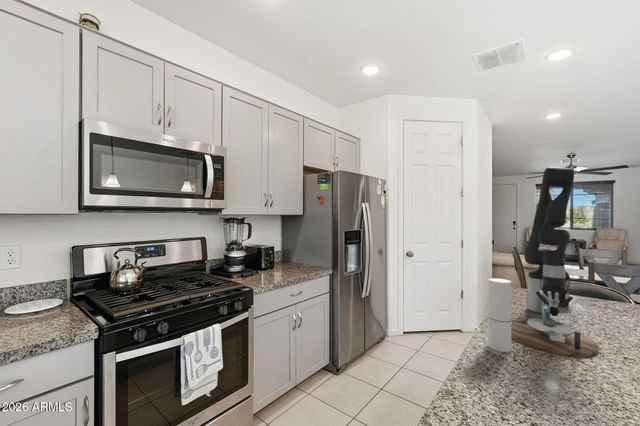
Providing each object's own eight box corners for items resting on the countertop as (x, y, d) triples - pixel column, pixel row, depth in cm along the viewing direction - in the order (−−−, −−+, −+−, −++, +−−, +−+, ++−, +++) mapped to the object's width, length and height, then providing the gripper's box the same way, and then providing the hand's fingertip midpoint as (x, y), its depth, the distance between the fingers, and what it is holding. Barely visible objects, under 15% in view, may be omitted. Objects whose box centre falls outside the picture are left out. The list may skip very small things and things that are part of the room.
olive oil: (544, 304, 160) (544, 259, 161) (547, 300, 168) (547, 257, 168) (569, 308, 153) (569, 262, 153) (571, 304, 160) (571, 260, 160)
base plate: (575, 364, 95) (575, 341, 95) (492, 332, 120) (492, 315, 120) (612, 347, 107) (612, 327, 107) (530, 322, 132) (530, 306, 132)
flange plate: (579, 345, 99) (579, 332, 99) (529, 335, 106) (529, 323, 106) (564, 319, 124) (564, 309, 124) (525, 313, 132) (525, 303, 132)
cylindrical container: (508, 344, 109) (507, 279, 109) (513, 353, 102) (513, 283, 102) (486, 341, 111) (486, 277, 111) (491, 350, 104) (491, 281, 105)
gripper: (532, 274, 125) (533, 313, 125) (572, 279, 115) (573, 322, 115) (537, 272, 130) (537, 309, 130) (575, 276, 120) (576, 317, 120)
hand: (554, 315), depth 123 cm, fingers closed
